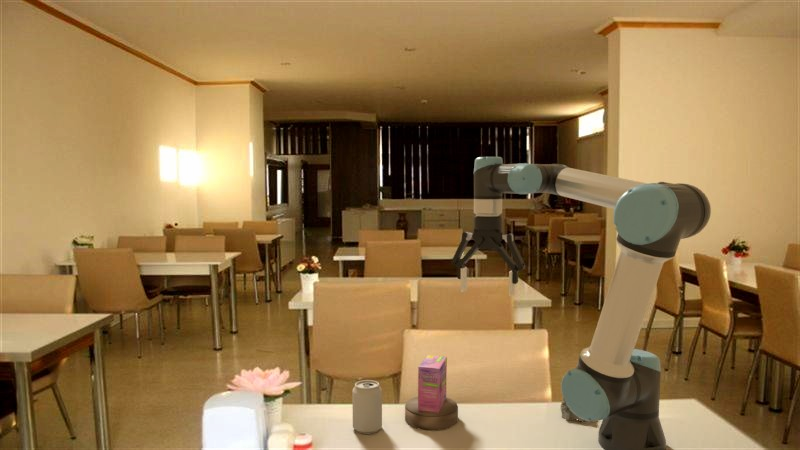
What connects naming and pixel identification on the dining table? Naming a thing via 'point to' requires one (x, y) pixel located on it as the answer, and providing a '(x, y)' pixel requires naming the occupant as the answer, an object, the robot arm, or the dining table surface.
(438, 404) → the box
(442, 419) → the round lidded container
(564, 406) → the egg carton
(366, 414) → the can
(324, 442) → the dining table surface
